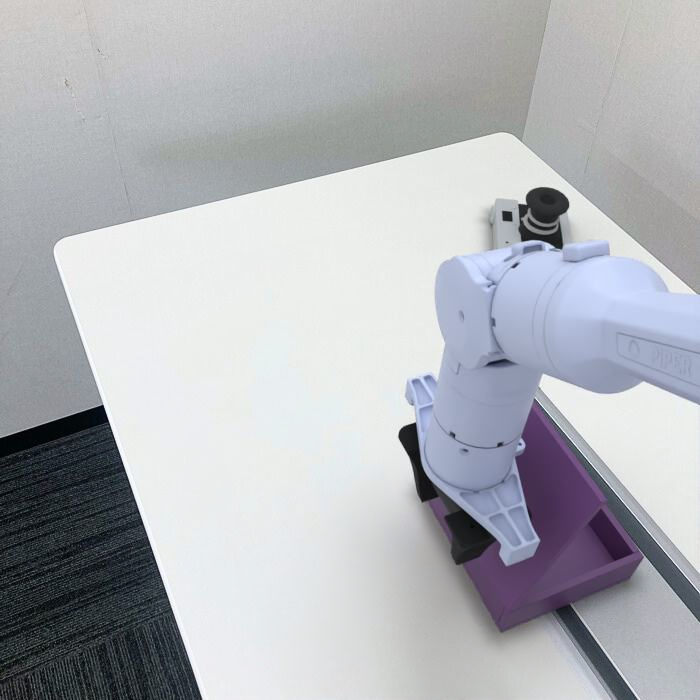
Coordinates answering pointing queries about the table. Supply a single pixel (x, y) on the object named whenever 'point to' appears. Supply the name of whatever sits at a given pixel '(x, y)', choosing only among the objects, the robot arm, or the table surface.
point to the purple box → (561, 570)
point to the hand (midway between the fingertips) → (448, 525)
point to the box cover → (541, 507)
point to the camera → (532, 219)
